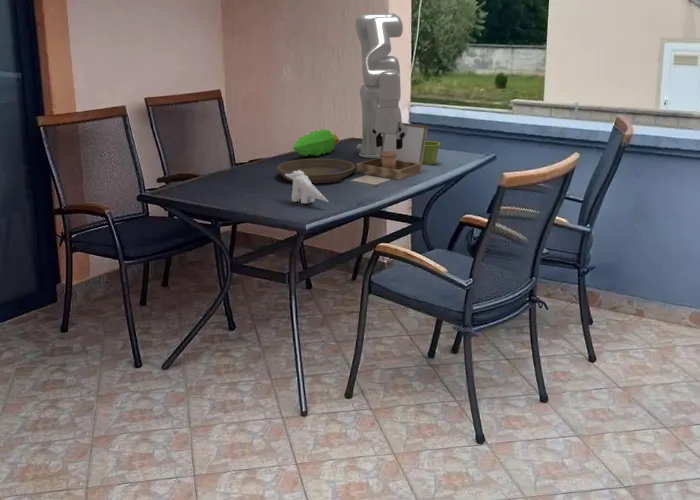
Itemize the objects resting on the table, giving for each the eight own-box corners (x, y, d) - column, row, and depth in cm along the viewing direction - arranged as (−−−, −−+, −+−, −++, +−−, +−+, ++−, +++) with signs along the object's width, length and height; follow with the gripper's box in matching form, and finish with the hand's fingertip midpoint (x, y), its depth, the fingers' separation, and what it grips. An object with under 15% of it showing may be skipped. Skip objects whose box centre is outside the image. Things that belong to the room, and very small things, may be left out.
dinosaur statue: (292, 193, 320) (293, 164, 315) (336, 212, 304) (337, 181, 299) (277, 197, 315) (278, 167, 311) (321, 216, 299) (322, 185, 295)
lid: (385, 120, 357) (386, 121, 358) (379, 156, 359) (380, 157, 360) (427, 125, 345) (428, 126, 346) (421, 163, 347) (422, 163, 347)
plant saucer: (319, 164, 370) (318, 154, 368) (371, 176, 349) (371, 164, 347) (261, 177, 349) (261, 166, 348) (314, 190, 328) (313, 178, 327)
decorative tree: (339, 123, 391) (297, 131, 367) (347, 148, 392) (306, 158, 368) (320, 131, 398) (278, 139, 374) (328, 155, 399) (286, 165, 375)
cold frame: (356, 175, 349) (356, 163, 348) (379, 168, 360) (379, 157, 359) (399, 182, 337) (399, 170, 335) (421, 174, 348) (421, 163, 347)
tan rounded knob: (378, 172, 348) (377, 153, 345) (387, 170, 353) (387, 150, 350) (390, 174, 344) (390, 154, 342) (399, 172, 349) (399, 152, 346)
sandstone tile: (350, 182, 337) (350, 180, 337) (366, 177, 345) (366, 175, 344) (375, 187, 330) (375, 184, 330) (390, 181, 338) (390, 179, 337)
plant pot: (439, 161, 371) (440, 141, 368) (439, 166, 362) (440, 145, 359) (417, 161, 372) (417, 141, 369) (417, 166, 363) (417, 145, 360)
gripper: (365, 103, 342) (366, 147, 347) (401, 106, 332) (401, 151, 337) (376, 101, 348) (377, 144, 353) (412, 104, 337) (412, 148, 342)
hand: (389, 147), depth 345 cm, fingers open, 9 cm apart
